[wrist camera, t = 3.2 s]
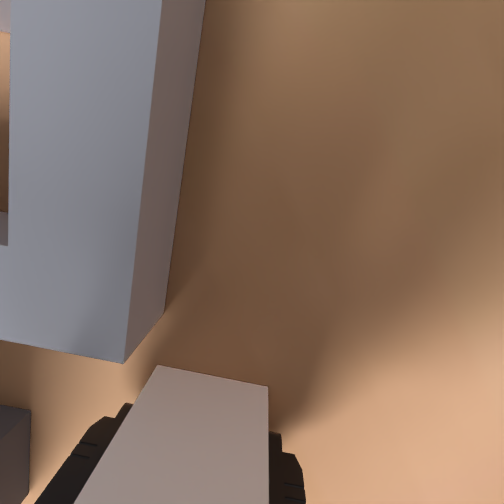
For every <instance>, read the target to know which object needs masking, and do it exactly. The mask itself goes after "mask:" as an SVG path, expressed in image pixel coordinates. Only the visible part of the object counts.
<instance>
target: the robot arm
mask: <svg viewBox="0 0 504 504" xmlns="http://www.w3.org/2000/svg"><path fill="white" fill-rule="evenodd" d="M132 406H133V404H130V403H125V404H124V405H123V406H122V408H121V409H120V411H119V413H118V414H117V416H116V417H115V418H111V417H106V416H104V417H103V418H102V419H100V420H99V421H97V422H96V423H95V424H93V425H92V426H91V427H90V428H89V429H88V430H87V432H86V433H85V434H84V436H83V437H82V439H81V440H80V442H79V444H77V445H76V447H75V448H74V450H73V451H72V452H71V455H70V456H68V458H67V459H66V461H65V462H64V463H63V465H62V466H61V468H60V469H59V470H58V472H57V473H56V474H55V476H54V477H53V479H52V480H51V481H50V483H49V484H48V485H47V487H46V488H45V490H44V491H43V492H42V494H41V495H40V496H39V498H38V499H37V501H36V502H35V503H34V504H74V502H75V500H76V499H77V497H78V496H79V494H80V492H81V491H82V489H83V487H84V486H85V484H86V482H87V481H88V479H89V477H90V476H91V474H92V472H93V471H94V469H95V467H96V466H97V464H98V462H99V461H100V459H101V457H102V456H103V454H104V452H105V451H106V449H107V447H108V446H109V444H110V442H111V441H112V439H113V437H114V436H115V434H116V433H117V431H118V429H119V428H120V426H121V424H122V423H123V421H124V419H125V418H126V416H127V414H128V413H129V411H130V409H131V408H132ZM268 450H269V504H306V497H305V490H304V481H303V473H302V468H301V467H300V465H299V463H298V461H297V459H296V457H295V455H294V454H290V453H285V452H282V439H281V434H279V433H274V432H269V431H268Z"/></svg>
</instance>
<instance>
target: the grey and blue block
mask: <svg viewBox="0 0 504 504" xmlns="http://www.w3.org/2000/svg"><path fill="white" fill-rule="evenodd" d="M30 428H31V411H30V410H25V409H20V408H15V407H10V406H5V405H0V504H21V503H22V501H23V500H24V499H25V497H26V496H27V495H28V492H29V460H30Z"/></svg>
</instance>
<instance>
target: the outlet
mask: <svg viewBox="0 0 504 504" xmlns="http://www.w3.org/2000/svg"><path fill="white" fill-rule="evenodd" d="M205 2H206V0H0V31H2V32H7V33H10V111H9V208H8V213H6V212H1V211H0V340H5V341H10V342H15V343H20V344H25V345H30V346H35V347H40V348H45V349H50V350H55V351H60V352H65V353H70V354H75V355H80V356H86V357H91V358H96V359H101V360H106V361H111V362H116V363H121V364H124V363H125V361H126V360H127V359H128V358H129V356H130V355H131V354H132V353H133V351H134V350H135V349H136V348H137V346H138V345H139V344H140V343H141V341H142V340H143V339H144V337H145V336H146V335H147V334H148V332H149V331H150V330H151V329H152V327H153V326H154V325H155V324H156V322H157V321H158V320H159V319H160V317H161V316H162V315H163V314H164V307H165V300H166V292H167V285H168V277H169V270H170V263H171V255H172V248H173V240H174V233H175V225H176V218H177V210H178V203H179V195H180V188H181V181H182V173H183V166H184V158H185V151H186V143H187V136H188V128H189V121H190V113H191V106H192V99H193V91H194V84H195V76H196V69H197V61H198V54H199V46H200V39H201V32H202V24H203V17H204V9H205Z"/></svg>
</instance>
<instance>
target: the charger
mask: <svg viewBox="0 0 504 504" xmlns="http://www.w3.org/2000/svg"><path fill="white" fill-rule="evenodd" d="M74 504H269V450H268V387H267V386H262V385H257V384H252V383H247V382H242V381H237V380H232V379H227V378H222V377H217V376H212V375H207V374H202V373H197V372H192V371H187V370H182V369H177V368H171V367H166V366H161V365H157V366H156V368H155V370H154V371H153V373H152V375H151V376H150V378H149V379H148V381H147V383H146V384H145V386H144V388H143V389H142V391H141V393H140V394H139V396H138V398H137V399H136V401H135V403H134V404H133V406H132V408H131V409H130V411H129V413H128V414H127V416H126V418H125V419H124V421H123V423H122V424H121V426H120V428H119V429H118V431H117V433H116V434H115V436H114V437H113V439H112V441H111V442H110V444H109V446H108V447H107V449H106V451H105V452H104V454H103V456H102V457H101V459H100V461H99V462H98V464H97V466H96V467H95V469H94V471H93V472H92V474H91V476H90V477H89V479H88V481H87V482H86V484H85V486H84V487H83V489H82V491H81V492H80V494H79V496H78V497H77V499H76V500H75V502H74Z"/></svg>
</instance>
